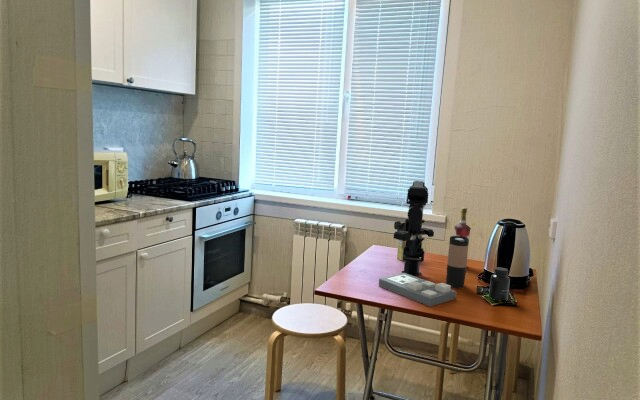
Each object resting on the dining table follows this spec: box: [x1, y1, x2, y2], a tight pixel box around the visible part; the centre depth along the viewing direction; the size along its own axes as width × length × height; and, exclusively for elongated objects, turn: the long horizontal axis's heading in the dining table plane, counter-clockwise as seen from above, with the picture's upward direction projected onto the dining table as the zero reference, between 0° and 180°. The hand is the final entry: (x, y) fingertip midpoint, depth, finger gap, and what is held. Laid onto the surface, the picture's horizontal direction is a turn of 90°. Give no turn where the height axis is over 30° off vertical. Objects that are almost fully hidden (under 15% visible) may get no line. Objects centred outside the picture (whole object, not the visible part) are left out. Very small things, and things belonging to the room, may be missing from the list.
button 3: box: [421, 290, 437, 297], centre depth 173 cm, size 4×4×3 cm
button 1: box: [407, 281, 423, 291], centre depth 178 cm, size 4×4×3 cm
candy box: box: [396, 231, 406, 261], centre depth 229 cm, size 9×4×15 cm, turn 113°
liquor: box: [453, 207, 471, 240], centre depth 219 cm, size 7×7×28 cm
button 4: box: [435, 282, 452, 293], centre depth 178 cm, size 4×4×3 cm
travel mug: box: [445, 235, 470, 289], centre depth 192 cm, size 8×8×20 cm
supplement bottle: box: [488, 266, 511, 301], centre depth 179 cm, size 7×7×12 cm
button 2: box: [421, 280, 437, 288], centre depth 183 cm, size 4×4×3 cm
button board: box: [378, 272, 457, 307], centre depth 183 cm, size 15×26×3 cm, turn 38°
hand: (412, 254), depth 193 cm, fingers closed
